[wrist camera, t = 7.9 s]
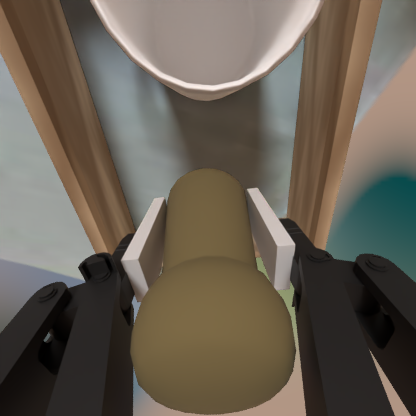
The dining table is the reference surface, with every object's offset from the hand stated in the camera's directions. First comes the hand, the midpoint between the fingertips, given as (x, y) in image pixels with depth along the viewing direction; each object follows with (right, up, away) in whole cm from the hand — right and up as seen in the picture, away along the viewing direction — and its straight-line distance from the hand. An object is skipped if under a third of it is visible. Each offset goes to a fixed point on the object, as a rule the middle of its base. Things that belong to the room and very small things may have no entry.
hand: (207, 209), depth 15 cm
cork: (0, 0, 0) cm, 1 cm away
